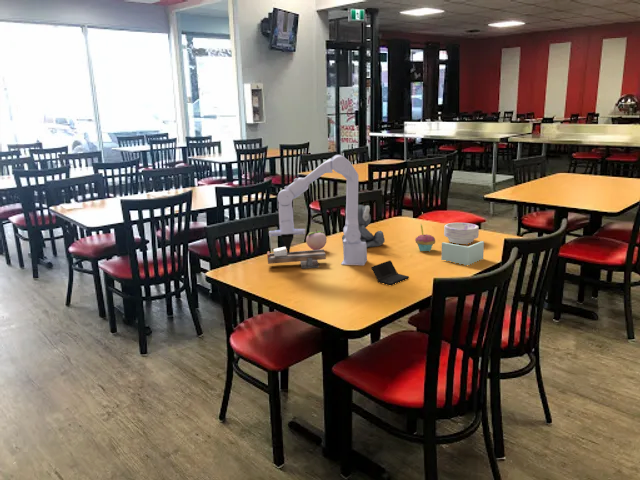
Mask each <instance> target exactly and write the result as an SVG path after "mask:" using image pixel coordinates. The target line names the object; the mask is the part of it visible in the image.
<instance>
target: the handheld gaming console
mask: <svg viewBox="0 0 640 480" xmlns="http://www.w3.org/2000/svg"><path fill="white" fill-rule="evenodd" d="M371 270H372V273H373V274H374V276H375V278H376V280H377V283H379V282H380V283H379V284H382V283H384V284H383V285H386V284H387V285H386V286H389V285H391V286H393V284H394V285H396V284H399V283H401V282H404V281H406V280H405V279H407V280H409V279H410V276H409V275H405V274H401V273H398V271H397V269H396V268H395V266H394V264H393V261H392V260H386V261H384V262H381V263H378V264H376V265H373V266H371ZM408 278H409V279H408ZM403 280H404V281H403ZM400 281H401V282H400ZM398 282H399V283H398ZM395 283H396V284H395Z"/></svg>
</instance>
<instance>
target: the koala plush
mask: <svg viewBox="0 0 640 480" xmlns="http://www.w3.org/2000/svg"><path fill="white" fill-rule="evenodd" d="M370 207H371V206H370V205H363V204H358V228H359V231H360V233H361V237H360V240H361V241H362V242H366V245H367V248H370V247H371V248H372V247H373V248H374V247H379V246H382V245H384V243H385V235H384V232H383V231H382V230H377V231H376V232H374V234H373V233H372V232H370V231H369V230H368V229H367V227H368V226H369V225H370V223H371V220H372V218H371V217H372V216H371V214H370V211H371V210H370V209H371V208H370ZM344 239H345V235H344V234H343V235H342V236H341V240H342V241H341V242H343V240H344Z"/></svg>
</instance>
